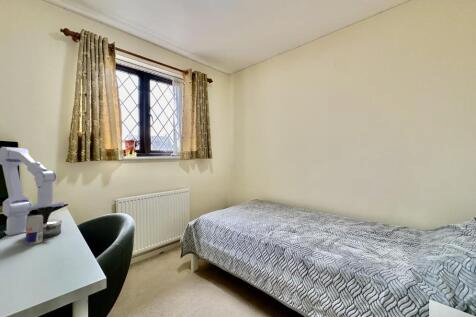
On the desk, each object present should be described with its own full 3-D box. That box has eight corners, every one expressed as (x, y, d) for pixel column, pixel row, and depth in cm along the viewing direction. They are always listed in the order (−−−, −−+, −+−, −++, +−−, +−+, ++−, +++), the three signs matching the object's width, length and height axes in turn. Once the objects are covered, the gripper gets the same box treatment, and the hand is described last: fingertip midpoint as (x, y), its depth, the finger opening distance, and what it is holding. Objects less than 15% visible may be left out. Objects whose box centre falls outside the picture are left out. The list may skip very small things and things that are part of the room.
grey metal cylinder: (22, 236, 105) (22, 226, 106) (55, 229, 116) (55, 220, 116) (30, 241, 98) (30, 230, 98) (65, 233, 109) (65, 224, 109)
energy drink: (23, 244, 96) (24, 216, 96) (39, 240, 101) (39, 214, 101) (29, 246, 93) (29, 218, 94) (44, 242, 98) (45, 215, 98)
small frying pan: (21, 225, 106) (21, 223, 106) (55, 219, 117) (55, 217, 117) (33, 232, 96) (33, 230, 96) (70, 225, 107) (70, 223, 107)
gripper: (27, 198, 99) (27, 227, 99) (66, 194, 111) (65, 220, 111) (23, 196, 103) (22, 225, 103) (60, 193, 115) (60, 218, 115)
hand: (44, 222), depth 107 cm, fingers closed, pressing on small frying pan
